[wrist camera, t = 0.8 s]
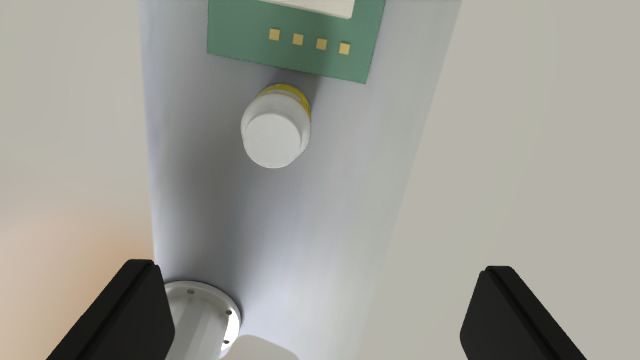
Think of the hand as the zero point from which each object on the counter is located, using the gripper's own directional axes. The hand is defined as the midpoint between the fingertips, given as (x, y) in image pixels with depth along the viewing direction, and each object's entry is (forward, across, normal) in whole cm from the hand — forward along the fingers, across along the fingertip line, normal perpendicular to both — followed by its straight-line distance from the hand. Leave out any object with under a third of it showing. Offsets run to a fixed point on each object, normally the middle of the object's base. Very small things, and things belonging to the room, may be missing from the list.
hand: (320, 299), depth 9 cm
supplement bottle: (+24, +3, 0) cm, 24 cm away
